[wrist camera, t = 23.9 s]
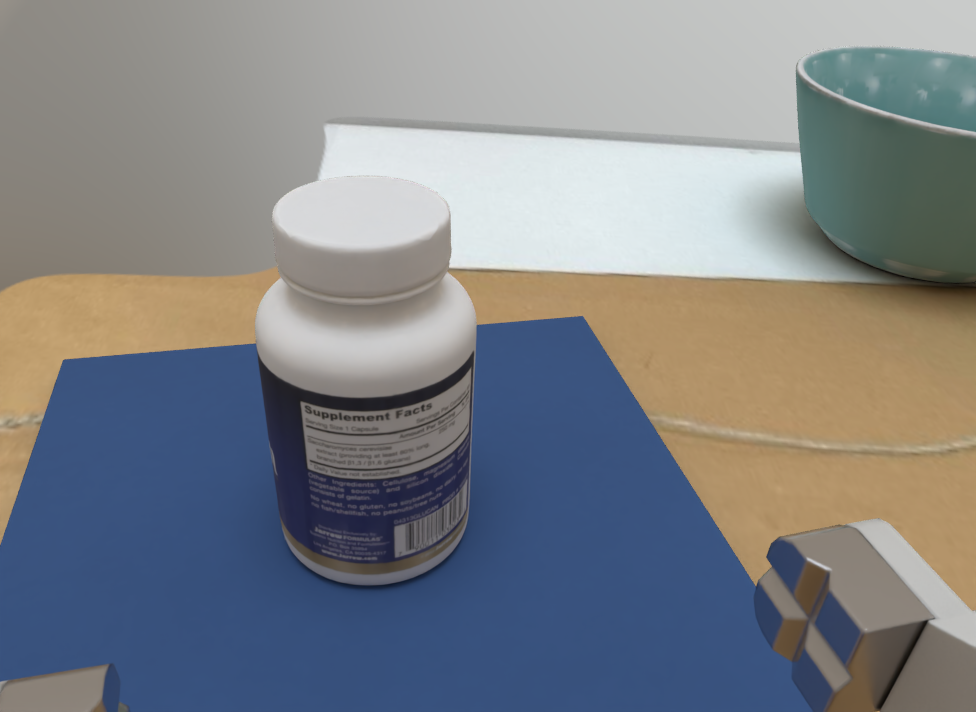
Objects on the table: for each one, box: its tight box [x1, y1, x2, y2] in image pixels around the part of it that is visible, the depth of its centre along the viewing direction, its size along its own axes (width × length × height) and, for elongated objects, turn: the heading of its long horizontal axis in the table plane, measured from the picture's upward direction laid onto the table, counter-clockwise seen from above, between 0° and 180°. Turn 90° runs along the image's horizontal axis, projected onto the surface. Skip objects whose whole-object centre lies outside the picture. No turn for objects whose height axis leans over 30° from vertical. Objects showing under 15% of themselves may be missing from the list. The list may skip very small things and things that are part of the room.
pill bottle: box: [255, 176, 477, 585], centre depth 21 cm, size 5×5×10 cm
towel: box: [0, 316, 813, 712], centre depth 24 cm, size 20×20×1 cm
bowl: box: [796, 46, 976, 283], centre depth 40 cm, size 16×16×8 cm
